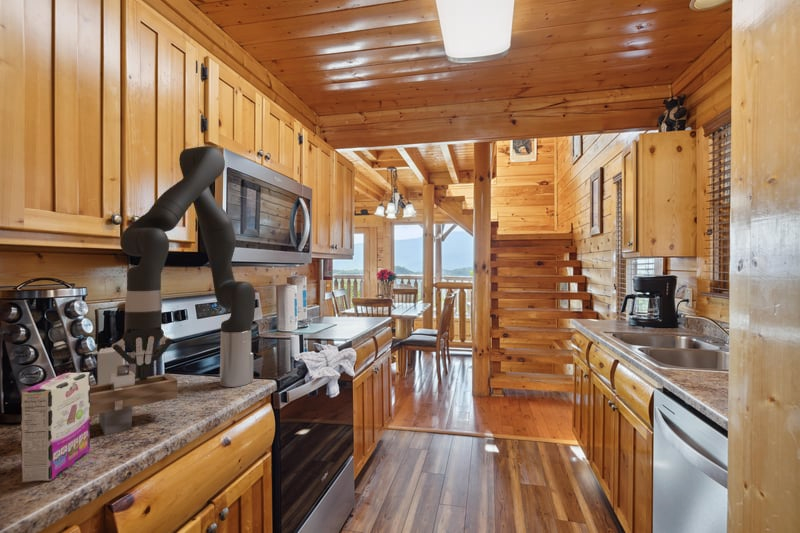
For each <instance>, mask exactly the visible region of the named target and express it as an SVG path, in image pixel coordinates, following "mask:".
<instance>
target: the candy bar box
mask: <svg viewBox="0 0 800 533" xmlns="http://www.w3.org/2000/svg"><path fill="white" fill-rule="evenodd" d="M90 374H91V372H89V371H87V372H85V371H84V372H66V373H65V372H64V373H62V374H59V375H57V376H55V377H52V378H50V379H47V380H45V381H42V382H40V383H37V384H35V385H33V386H30V387H27V388H25V389H23V390H21V392H20V394H21V395H20V399H21V400H20V401H21V402H20V403H21V404H20V406H21V408H20V410H21V415H20V416H21V419H20V420H21V422H20V423H21V424H20V425H21V442H20V446H21V483H24V484H26V483H40V482H49V481H50V482H51V481H52V480H54V479H56V477H58V476H60V475H61V474H62V473H63V472H64V471H66V470H68V469H69V467H71V466H72V465H74V464H75V463H76V462H77V461H79V460H80V459H82V457H84V456H86V454H87V455H88V454H89V452H90V451H91V449H90V448H91V447H90V446H91V441H90V440H91V438H90V434H91V432H90V430H91V429H90V427H91V426H90V425H91V424H90V423H91V422H90V420H91V418H90V416H91V415H90V411H89V410H90V386H91V385H90V384H91V383H90V381H91V380H90V376H91V375H90Z"/></svg>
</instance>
